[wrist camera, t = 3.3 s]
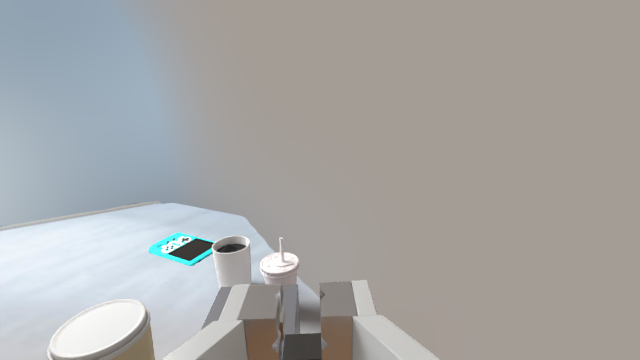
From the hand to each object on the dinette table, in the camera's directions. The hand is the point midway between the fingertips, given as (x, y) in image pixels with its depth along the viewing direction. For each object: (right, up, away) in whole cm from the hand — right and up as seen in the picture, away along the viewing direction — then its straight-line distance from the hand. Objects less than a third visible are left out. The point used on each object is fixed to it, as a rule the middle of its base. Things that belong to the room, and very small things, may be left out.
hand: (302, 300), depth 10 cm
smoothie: (-6, -19, +43) cm, 47 cm away
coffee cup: (-23, -24, +27) cm, 43 cm away
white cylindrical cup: (-15, -18, +48) cm, 53 cm away
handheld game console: (-32, -14, +65) cm, 74 cm away
